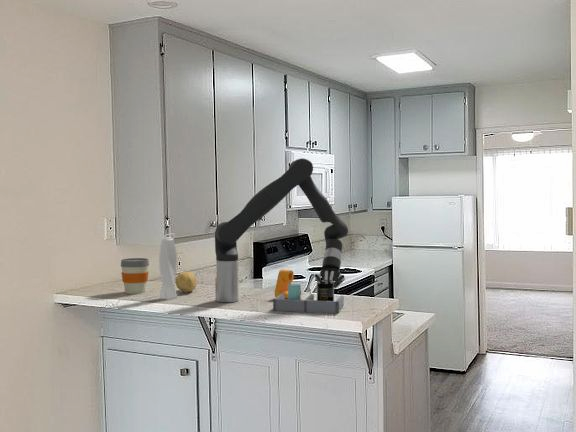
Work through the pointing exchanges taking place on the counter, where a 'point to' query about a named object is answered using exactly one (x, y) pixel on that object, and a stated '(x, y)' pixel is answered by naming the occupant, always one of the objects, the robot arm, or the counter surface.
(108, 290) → the counter surface
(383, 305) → the counter surface
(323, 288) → the supplement container
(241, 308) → the counter surface
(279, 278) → the bracket
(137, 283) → the reusable coffee cup
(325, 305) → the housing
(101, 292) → the counter surface
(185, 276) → the potato
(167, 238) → the skyscraper
